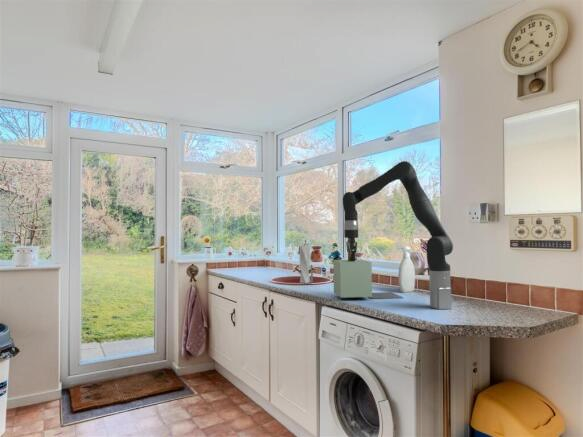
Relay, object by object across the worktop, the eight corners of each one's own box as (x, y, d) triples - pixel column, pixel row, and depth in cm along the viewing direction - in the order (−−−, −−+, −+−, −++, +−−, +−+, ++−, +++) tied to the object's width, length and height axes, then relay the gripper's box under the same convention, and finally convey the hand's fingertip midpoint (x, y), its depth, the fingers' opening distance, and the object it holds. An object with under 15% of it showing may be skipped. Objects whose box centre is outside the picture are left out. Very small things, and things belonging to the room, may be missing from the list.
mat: (403, 298, 205) (403, 297, 205) (371, 299, 203) (371, 298, 203) (391, 293, 222) (391, 292, 222) (362, 293, 220) (362, 293, 220)
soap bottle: (407, 289, 234) (406, 245, 235) (418, 291, 228) (418, 245, 229) (392, 292, 225) (392, 246, 226) (405, 293, 219) (404, 246, 220)
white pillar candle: (306, 284, 263) (306, 243, 264) (297, 283, 268) (296, 243, 269) (313, 282, 269) (313, 242, 270) (304, 282, 274) (303, 242, 275)
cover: (372, 296, 199) (371, 252, 200) (340, 297, 197) (340, 252, 198) (362, 291, 216) (362, 250, 217) (333, 292, 214) (333, 251, 215)
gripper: (361, 228, 201) (362, 261, 201) (354, 229, 215) (354, 259, 215) (347, 229, 200) (348, 261, 200) (341, 229, 215) (341, 260, 214)
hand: (351, 260), depth 207 cm, fingers closed on cover, 4 cm apart
